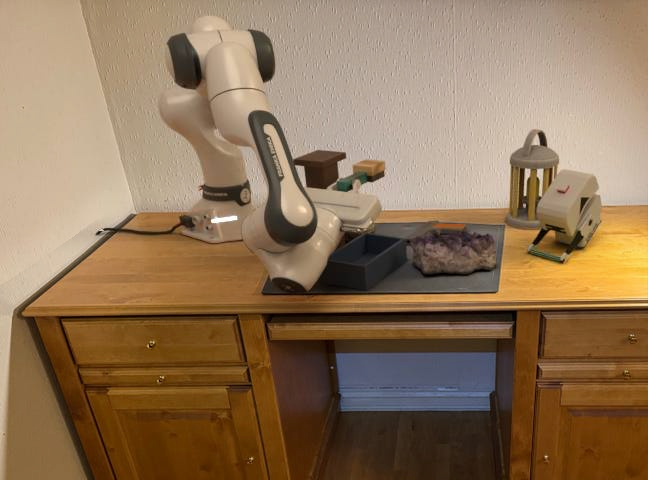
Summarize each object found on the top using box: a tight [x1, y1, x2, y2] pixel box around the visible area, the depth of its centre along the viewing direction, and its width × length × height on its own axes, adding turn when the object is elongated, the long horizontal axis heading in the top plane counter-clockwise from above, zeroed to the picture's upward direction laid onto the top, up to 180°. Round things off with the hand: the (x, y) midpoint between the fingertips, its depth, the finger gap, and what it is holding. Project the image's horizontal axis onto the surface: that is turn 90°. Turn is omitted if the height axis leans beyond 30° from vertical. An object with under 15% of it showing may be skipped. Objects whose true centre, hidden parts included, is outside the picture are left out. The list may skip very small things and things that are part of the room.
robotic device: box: [526, 168, 603, 264], centre depth 163 cm, size 10×21×20 cm
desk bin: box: [321, 233, 408, 292], centre depth 155 cm, size 12×20×6 cm, turn 154°
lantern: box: [505, 128, 560, 230], centre depth 180 cm, size 14×14×25 cm
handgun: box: [406, 219, 467, 246], centre depth 176 cm, size 2×16×12 cm
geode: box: [410, 230, 497, 275], centre depth 155 cm, size 20×12×10 cm, turn 96°
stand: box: [293, 149, 347, 250], centre depth 160 cm, size 8×10×25 cm
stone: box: [344, 222, 376, 242], centre depth 176 cm, size 14×10×10 cm
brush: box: [336, 158, 386, 192], centre depth 145 cm, size 15×5×4 cm, turn 154°
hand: (350, 180), depth 142 cm, fingers closed on brush, 2 cm apart
